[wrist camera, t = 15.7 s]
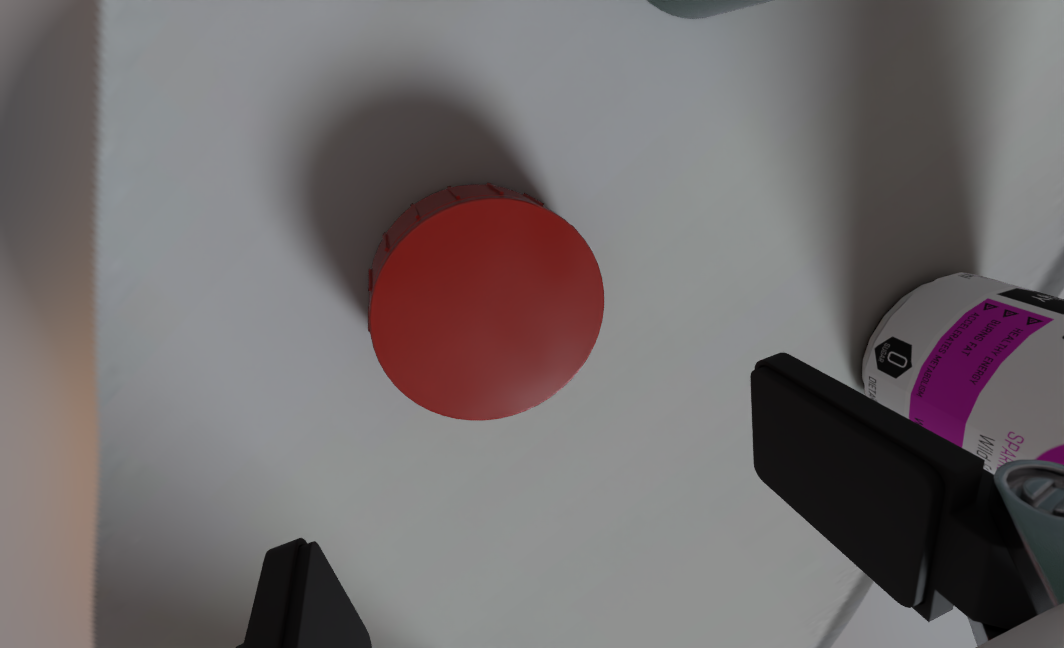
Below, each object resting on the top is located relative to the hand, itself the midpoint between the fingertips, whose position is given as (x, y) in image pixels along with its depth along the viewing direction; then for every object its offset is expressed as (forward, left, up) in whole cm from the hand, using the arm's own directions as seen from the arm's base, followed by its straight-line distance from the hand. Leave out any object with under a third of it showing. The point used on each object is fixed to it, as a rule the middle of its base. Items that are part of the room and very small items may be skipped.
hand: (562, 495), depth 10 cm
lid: (+1, 0, -7) cm, 7 cm away
